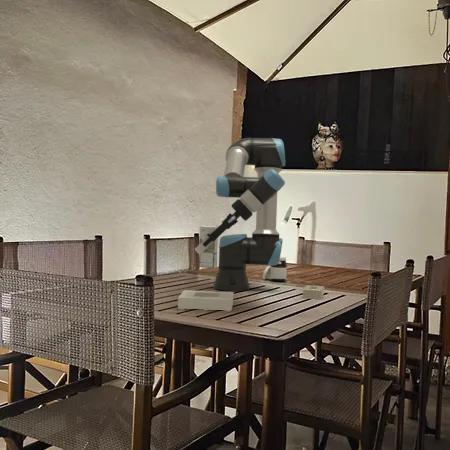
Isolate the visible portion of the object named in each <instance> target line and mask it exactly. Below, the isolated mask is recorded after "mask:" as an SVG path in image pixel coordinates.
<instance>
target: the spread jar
mask: <svg viewBox="0 0 450 450" xmlns="http://www.w3.org/2000/svg"><path fill="white" fill-rule="evenodd" d="M286 260H287V257H285V256H280V260H279V263H278V264H277V265H268V266H267V265H266V266H265V269H264V271H263V273H262V279H263V280H265V281H267V280H268V279H270V281H271V282H274V283H285V282H287V274H288V273H287V272H288V265H287V261H286ZM266 279H267V280H266Z"/></svg>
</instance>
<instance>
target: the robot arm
mask: <svg viewBox="0 0 450 450" xmlns="http://www.w3.org/2000/svg"><path fill="white" fill-rule="evenodd" d="M285 153H286V151H285V145H284V141H283V140H282V139H281V138H273V137H245V138H241V139H239V140H237V141H235V142H234V143H232V144H231V145H230V146H229V147H228V148H227V150H226V153H225V162H226V164H225V169H224V173H223V175H221V176H218V177H216V182H215V183H216V184H215V194H216V196H217V197H220V198H225V199H226V198H237V199H236V200H235V201H234V202H233V203H232V204H231V208H232V209H233V210H234V211H233V213H231V212H230V213H229V214H227V216H226V217H225V218H224V219H223V220H222V222H221V224H220V225H219V226H218V228H217V229H216V230H215V231H214V232H212V233H211V234H210V235H209V234H207V236H208V237H207V238H206V239H205V240H203V241H202V242H201V243H200V244H199V243H198V245H197V246H196V247H195V248H194V250H195V252H196V253H197V254H198V256H199V255H200V254H201V253H202V252H203V251H204V250H205V249H207V248H208V247H209V246H210V245H211V244H212V243H213V241H215V240H216V239H217V238H218V239H219V243H218V245H219V246H218V249H219V250H218V270H217V274H216V276H215V280H214V282H213V289H215V290H218V291H224V292H244V291H248V290H250V282H249V279H248V276H247V271H246V270H247V269H246V268H247V265H250V266H252V265H253V266H266V267H267V266H271V265H277V264H278V263H279V260H280V257H281V254H282V248H283V240H284V239H283V238H281V237H280V233H279V232H278V231H277V217H278V216H277V214H278V212H277V211H278V192H279V191H280V190H282V188H283V187H284V186H285V184H286V181H285V179H283V177H282V176H281V175H280V172H282V170H283V168H282V167H285V166H286V154H285ZM246 166H254V171H255V172H256V173H257V177H248V176H245V169H246ZM253 213H255V214H256V216H255V218H256V219H255V221H256V222H255V230H254V231H253V232H252V233H251V236H250V237H249V236H248V235H247V233H237V234H236V233H235V234H228V235H223V236H221V235H222V234H223V233H225V231H227V230H230V229H231V228H232V227H233V226H235V225H236V224H237V223H238V222H239V221H238V219H239V218H241V219H242V220H244V222H245V221H248V220H250V218H251V217H253ZM219 237H220V238H219Z"/></svg>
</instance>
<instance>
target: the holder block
mask: <svg viewBox="0 0 450 450" xmlns="http://www.w3.org/2000/svg"><path fill="white" fill-rule="evenodd" d="M234 292H235V291H215V290H211V291H209V290H191V289H189V290H187V289H184V290H183V291H182V292H181V294H180V295H179V296H178V298H177V310H184V309H204V310H203V311H207V310H227V311H226V312H230V311H231V310H232V309H233V306H234ZM231 312H232V311H231Z"/></svg>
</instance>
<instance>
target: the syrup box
mask: <svg viewBox="0 0 450 450" xmlns="http://www.w3.org/2000/svg"><path fill="white" fill-rule="evenodd" d="M218 227H219V226H218V225H199V235H198V236H199V238H198V239H199V243H198V245H199V244H200V243H201V242H202V241H203V240H205V239H206V238H207V237H208V236H207V234H209V235H210V234H211V233H212V232H214V231H215V230H216V229H217V228H218ZM218 242H219V237H218V238H217V239H216V240H215V241H213V243H212V244H211V245H210V246H209V247H208V248H207V249H205V250H204V251H203V252H202V253H201V254H200V255H199V254H198V268H201V269H202V268H205V269H206V268H207V269H208V268H209V269H215V268H217V267H218V247H219V246H218V245H219V243H218Z"/></svg>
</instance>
